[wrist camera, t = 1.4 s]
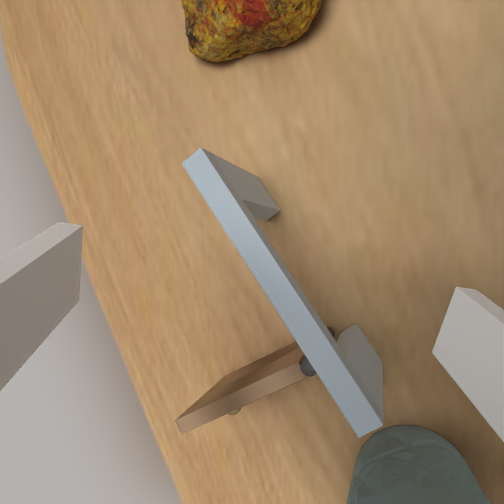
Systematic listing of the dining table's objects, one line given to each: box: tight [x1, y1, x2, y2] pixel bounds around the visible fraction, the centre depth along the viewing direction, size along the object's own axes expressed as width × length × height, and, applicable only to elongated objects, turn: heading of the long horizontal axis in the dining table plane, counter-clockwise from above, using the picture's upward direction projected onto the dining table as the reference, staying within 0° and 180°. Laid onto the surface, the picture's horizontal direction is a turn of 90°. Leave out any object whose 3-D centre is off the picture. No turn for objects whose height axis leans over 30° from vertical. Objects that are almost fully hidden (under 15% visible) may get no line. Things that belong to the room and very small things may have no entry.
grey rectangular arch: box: [182, 148, 384, 438], centre depth 28 cm, size 18×2×12 cm, turn 34°
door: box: [175, 327, 334, 434], centre depth 30 cm, size 10×2×9 cm, turn 119°
